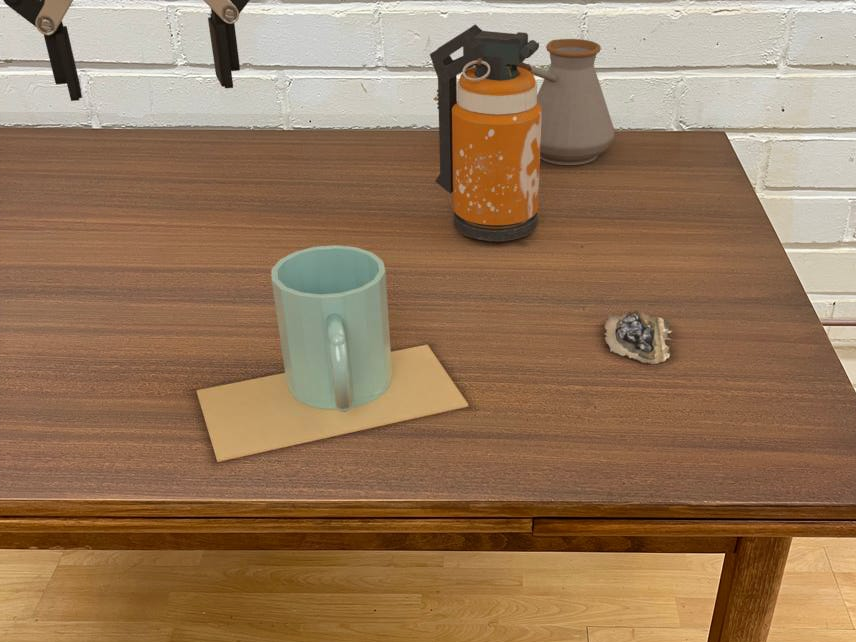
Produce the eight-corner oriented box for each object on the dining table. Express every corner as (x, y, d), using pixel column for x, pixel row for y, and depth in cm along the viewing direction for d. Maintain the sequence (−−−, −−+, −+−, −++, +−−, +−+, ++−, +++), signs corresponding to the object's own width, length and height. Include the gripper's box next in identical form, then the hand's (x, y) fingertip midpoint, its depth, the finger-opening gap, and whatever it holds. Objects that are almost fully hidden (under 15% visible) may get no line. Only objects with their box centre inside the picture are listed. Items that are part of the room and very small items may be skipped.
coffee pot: (567, 132, 126) (575, 9, 117) (631, 156, 120) (645, 27, 110) (441, 171, 116) (438, 39, 106) (504, 200, 109) (507, 61, 99)
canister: (522, 252, 98) (529, 46, 86) (423, 237, 101) (415, 35, 88) (546, 218, 105) (556, 22, 92) (452, 204, 108) (449, 12, 95)
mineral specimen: (658, 314, 88) (660, 296, 87) (695, 359, 82) (698, 339, 81) (589, 324, 87) (591, 305, 86) (622, 369, 81) (624, 350, 80)
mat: (217, 462, 71) (216, 460, 71) (196, 392, 78) (196, 390, 78) (468, 406, 77) (468, 404, 76) (427, 346, 84) (427, 344, 84)
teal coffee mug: (285, 358, 82) (270, 249, 75) (385, 348, 83) (378, 241, 77) (290, 441, 72) (273, 326, 66) (402, 429, 74) (396, 315, 67)
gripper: (239, -232, 58) (270, 63, 69) (-74, -237, 53) (12, 82, 64) (262, -225, 53) (292, 94, 64) (-84, -229, 48) (12, 118, 58)
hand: (151, 88), depth 64 cm, fingers open, 9 cm apart
